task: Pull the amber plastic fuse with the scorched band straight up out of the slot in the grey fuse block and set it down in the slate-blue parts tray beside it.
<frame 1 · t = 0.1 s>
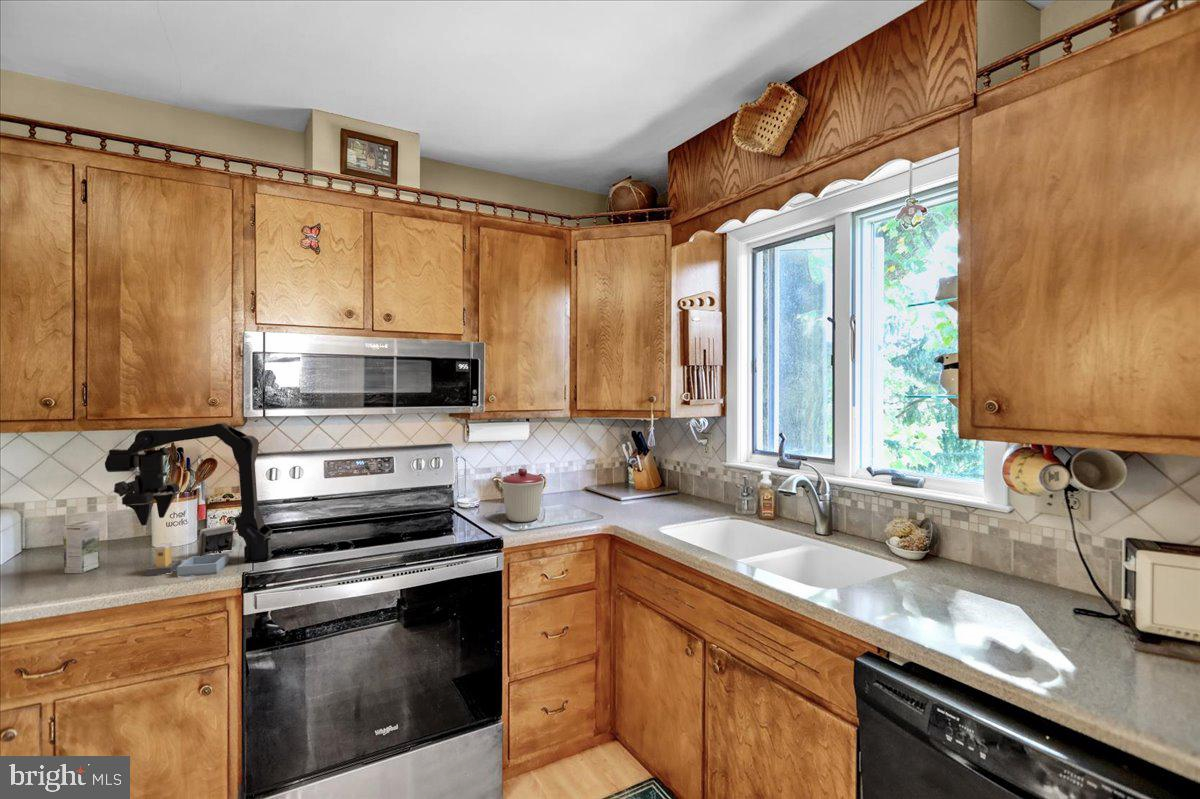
hand: (153, 521, 166), 14 cm above the counter, tool pointing down, fingers open, 9 cm apart
fuse block: (164, 571, 164), on the counter
fuse: (163, 558, 163), in the fuse block
parts tray: (204, 569, 165), on the counter
syrup box: (82, 571, 164), on the counter
canister: (523, 519, 225), on the counter
electrical switch: (217, 554, 181), on the counter
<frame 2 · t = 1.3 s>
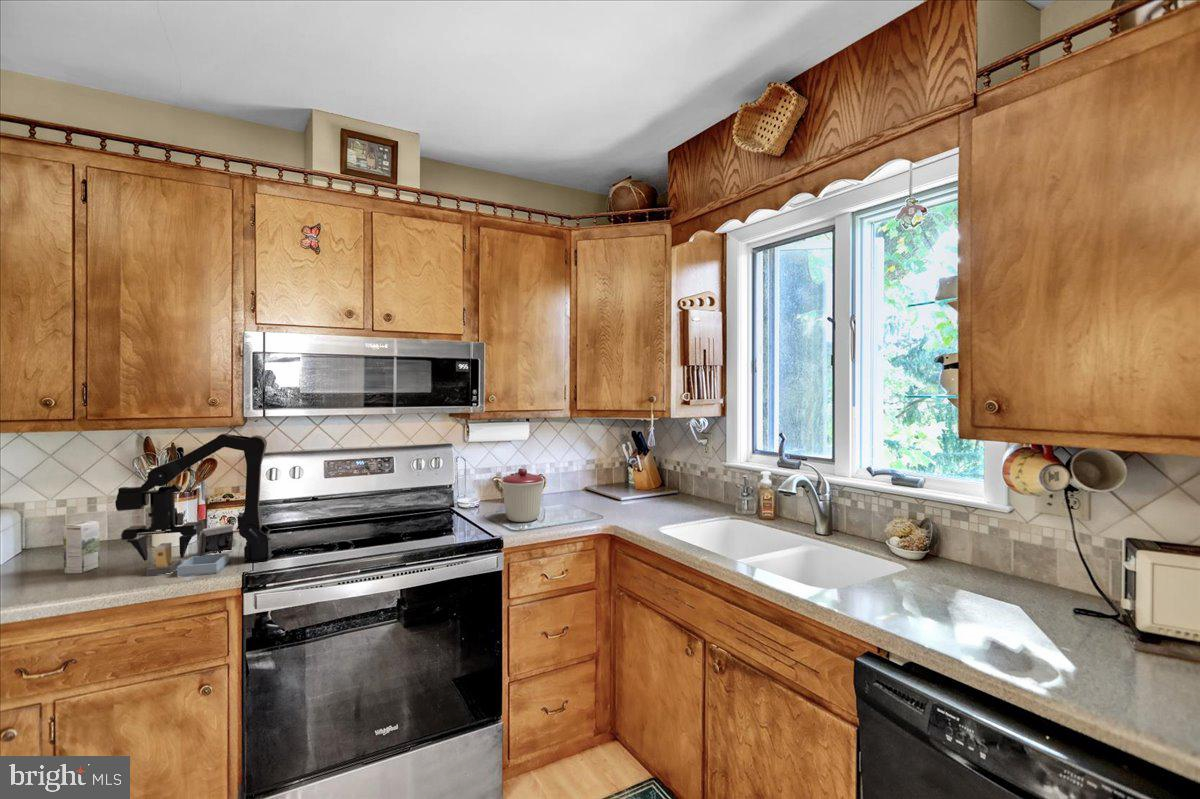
hand: (164, 558, 163), 4 cm above the counter, tool pointing down, fingers open, 9 cm apart
nothing on the counter moved.
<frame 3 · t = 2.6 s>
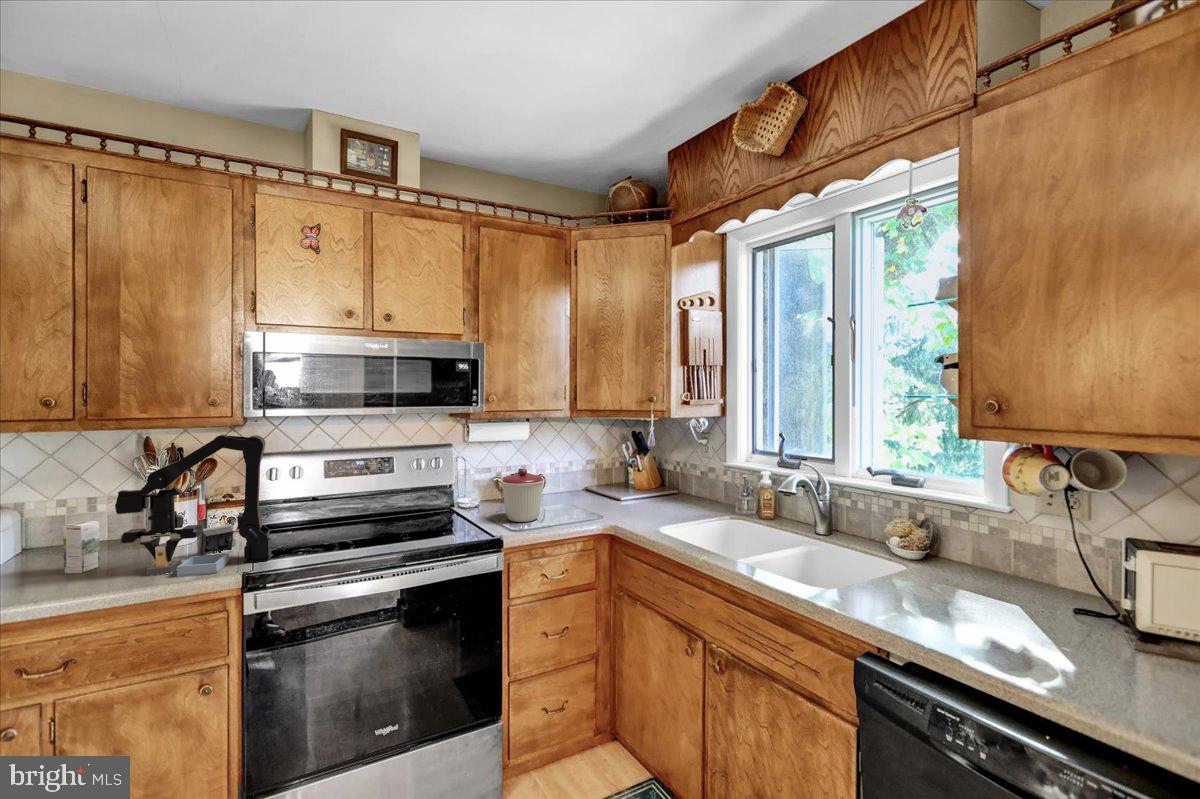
hand: (163, 561, 163), 3 cm above the counter, tool pointing down, fingers closed on fuse, 2 cm apart
fuse: (163, 558, 163), in the fuse block, touching gripper
everything else where it was.
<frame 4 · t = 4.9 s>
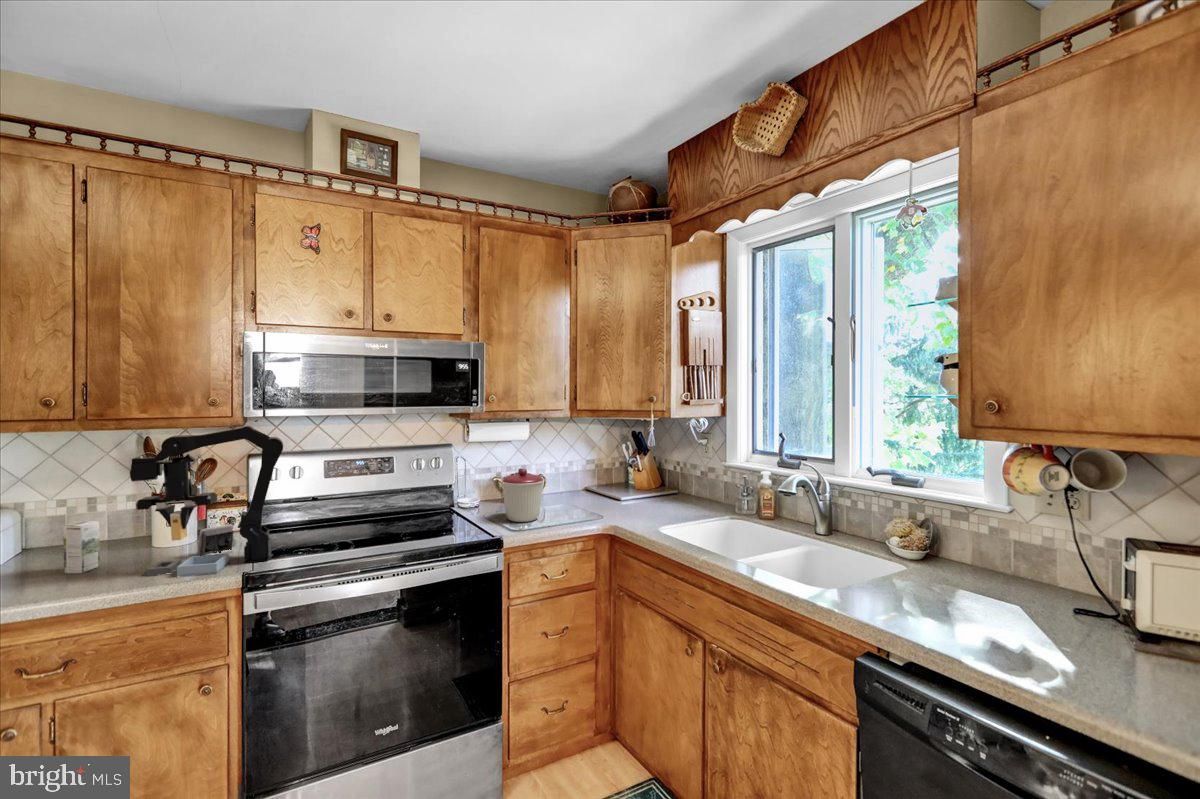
hand: (179, 529, 164), 13 cm above the counter, tool pointing down, fingers closed on fuse, 2 cm apart
fuse: (178, 525, 164), point 14 cm above the counter, touching gripper
everything else where it was.
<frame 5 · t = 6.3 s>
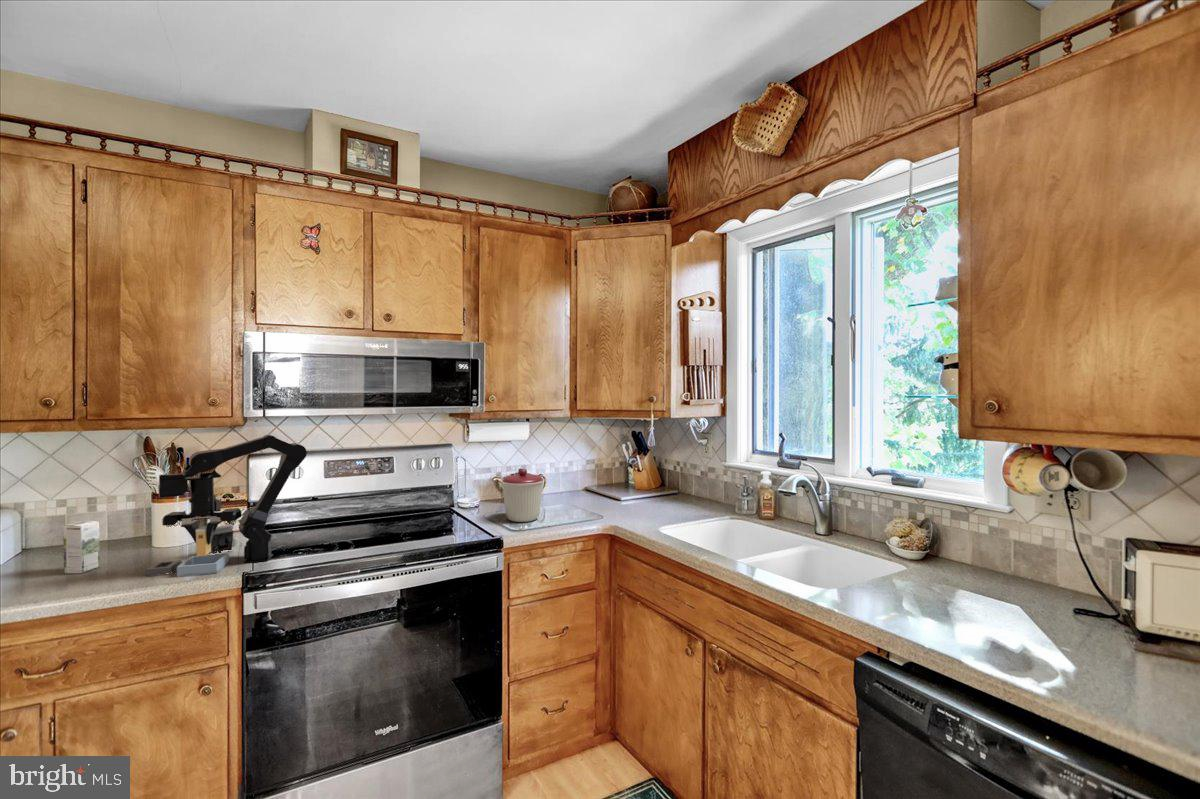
hand: (203, 544, 165), 8 cm above the counter, tool pointing down, fingers closed on fuse, 2 cm apart
fuse: (203, 540, 165), point 9 cm above the counter, touching gripper
everything else where it was.
when the fingers open (5 cm above the counter, at t = 7.4 s): fuse drops 1 cm, resting on parts tray.
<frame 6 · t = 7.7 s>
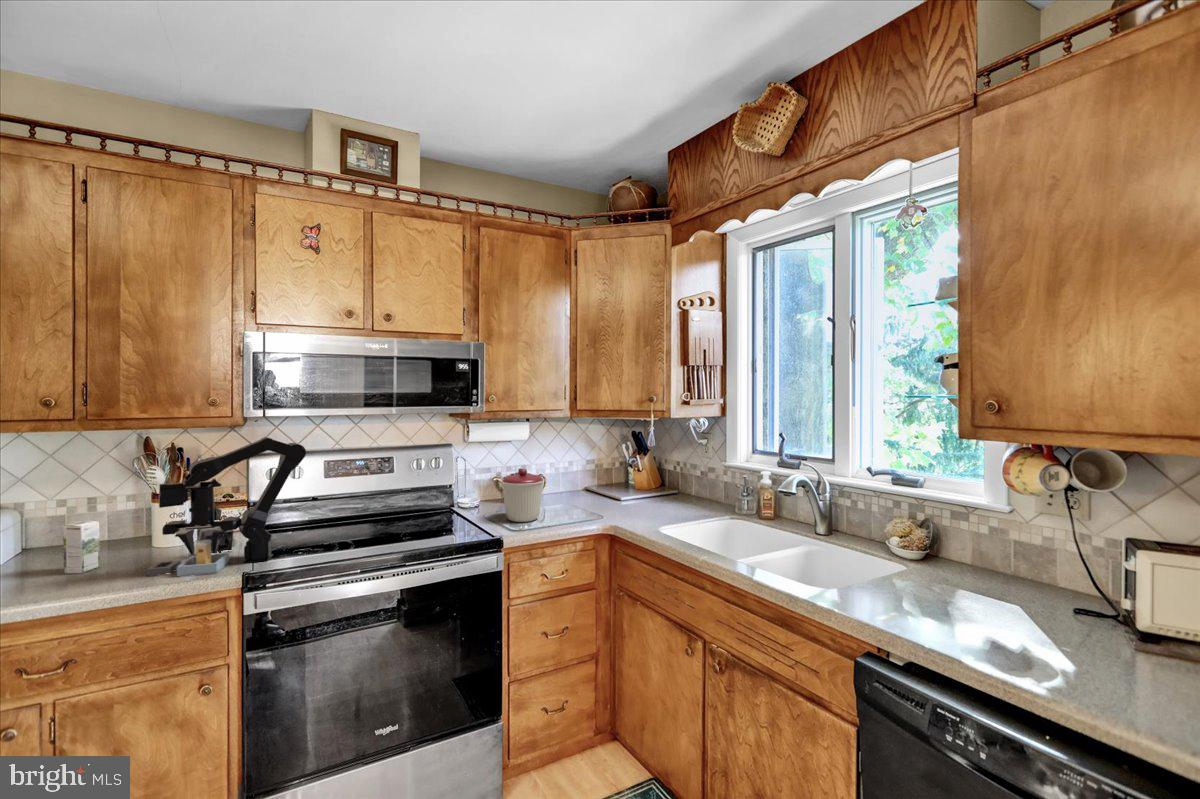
hand: (203, 553, 165), 5 cm above the counter, tool pointing down, fingers open, 5 cm apart
fuse: (203, 554, 165), in the parts tray, point 5 cm above the counter
everything else where it was.
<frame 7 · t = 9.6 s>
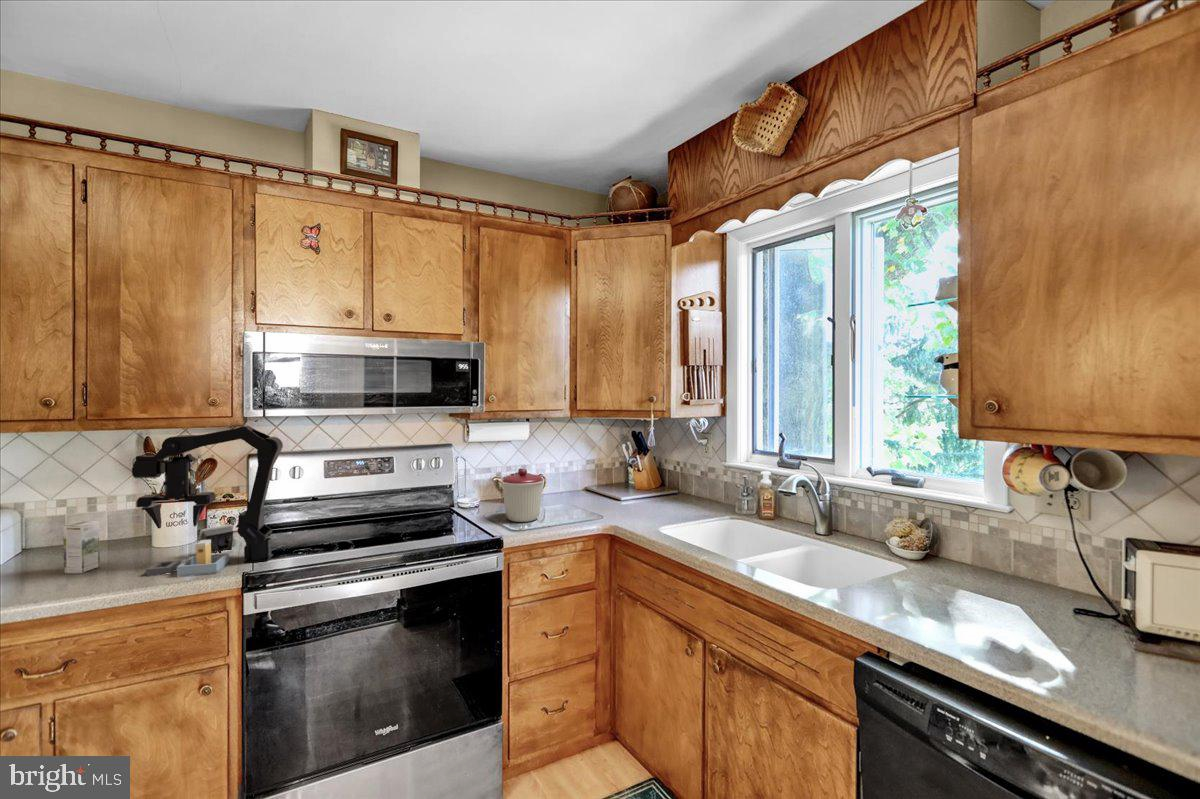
hand: (177, 527, 167), 12 cm above the counter, tool pointing down, fingers open, 9 cm apart
nothing on the counter moved.
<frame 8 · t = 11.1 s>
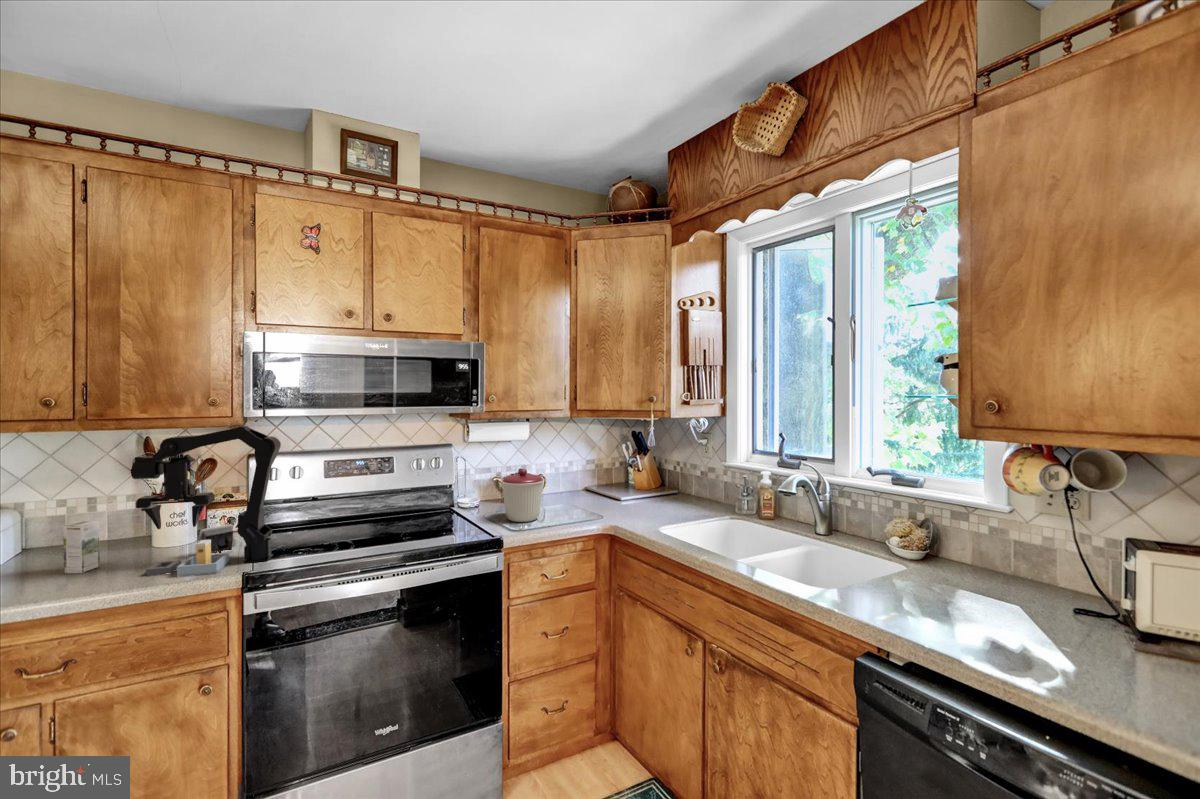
hand: (177, 527, 168), 12 cm above the counter, tool pointing down, fingers open, 9 cm apart
nothing on the counter moved.
at the end: fuse 0.0 cm off-centre on the parts tray, point 4.6 cm above the parts tray's base; the gripper is holding nothing; fuse touching parts tray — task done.
